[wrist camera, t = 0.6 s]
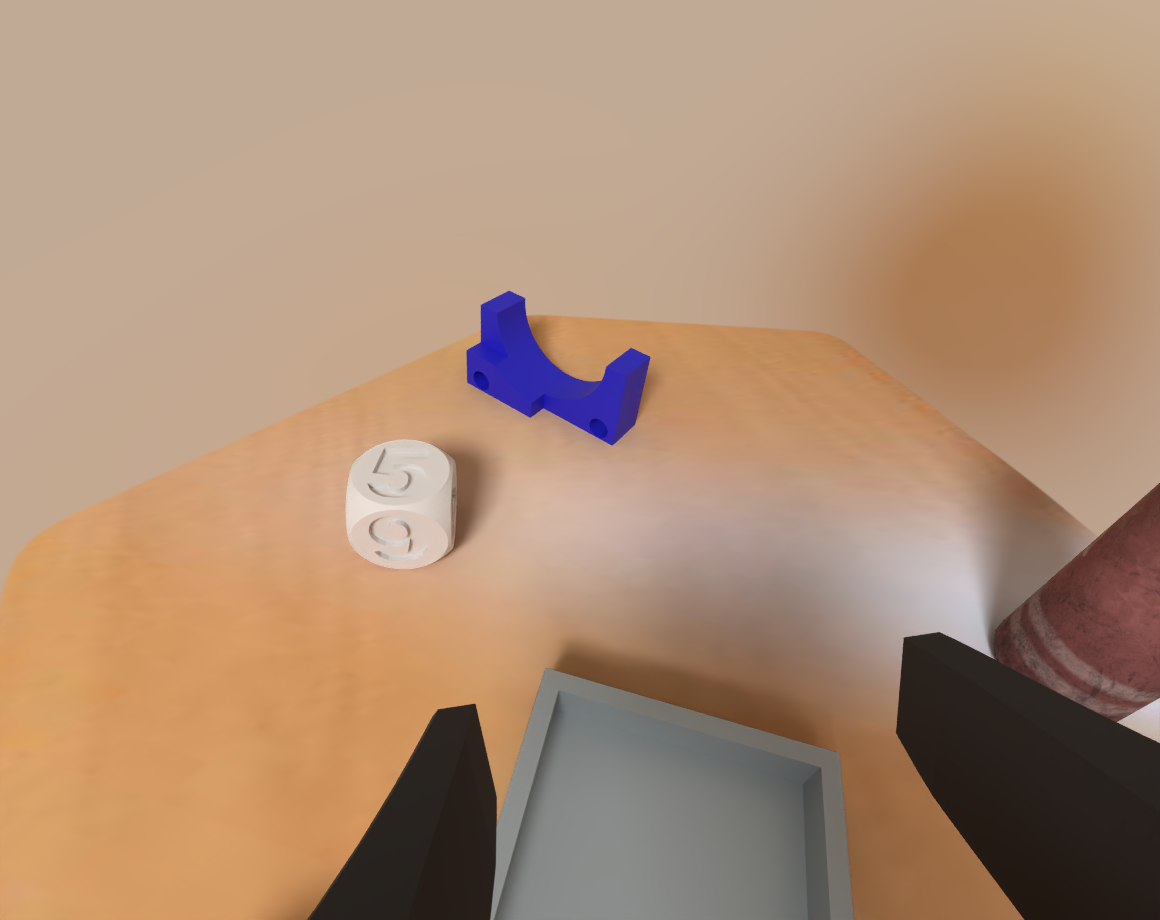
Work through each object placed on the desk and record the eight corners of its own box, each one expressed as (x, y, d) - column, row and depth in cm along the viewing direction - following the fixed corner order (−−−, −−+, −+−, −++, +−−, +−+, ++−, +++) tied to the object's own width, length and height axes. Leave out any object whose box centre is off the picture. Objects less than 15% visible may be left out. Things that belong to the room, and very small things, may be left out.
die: (457, 501, 35) (455, 438, 32) (452, 570, 31) (449, 508, 28) (370, 500, 34) (358, 436, 31) (355, 571, 31) (339, 507, 27)
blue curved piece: (467, 384, 44) (465, 312, 39) (506, 360, 46) (509, 290, 42) (599, 458, 39) (613, 386, 35) (634, 426, 42) (650, 357, 38)
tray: (841, 1235, 17) (881, 1253, 15) (424, 1081, 18) (417, 1080, 16) (816, 774, 26) (839, 753, 24) (541, 693, 27) (545, 667, 25)
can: (966, 662, 31) (1184, 475, 21) (1015, 604, 34) (1223, 418, 24) (1090, 762, 28) (1412, 594, 18) (1130, 687, 31) (1422, 511, 21)
